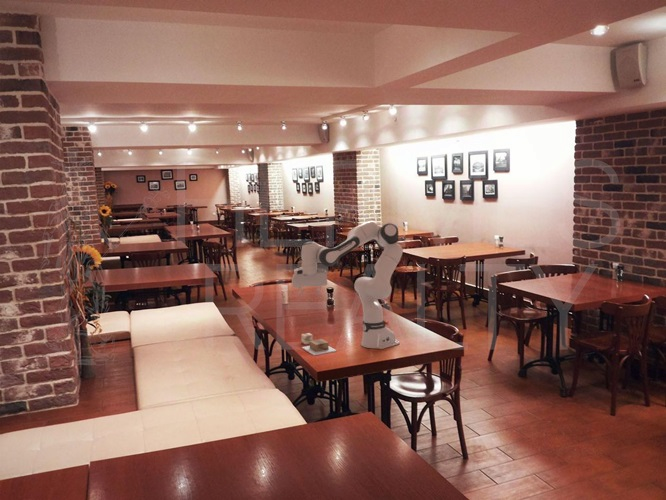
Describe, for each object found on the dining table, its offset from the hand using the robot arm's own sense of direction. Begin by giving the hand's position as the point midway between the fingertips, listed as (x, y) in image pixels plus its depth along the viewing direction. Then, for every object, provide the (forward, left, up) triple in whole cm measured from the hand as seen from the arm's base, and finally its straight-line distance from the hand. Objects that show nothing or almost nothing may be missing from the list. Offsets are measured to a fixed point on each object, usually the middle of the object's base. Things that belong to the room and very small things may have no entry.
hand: (309, 293), depth 304 cm
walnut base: (0, +10, -30) cm, 32 cm away
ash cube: (0, -6, -30) cm, 31 cm away
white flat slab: (0, +10, -30) cm, 32 cm away
